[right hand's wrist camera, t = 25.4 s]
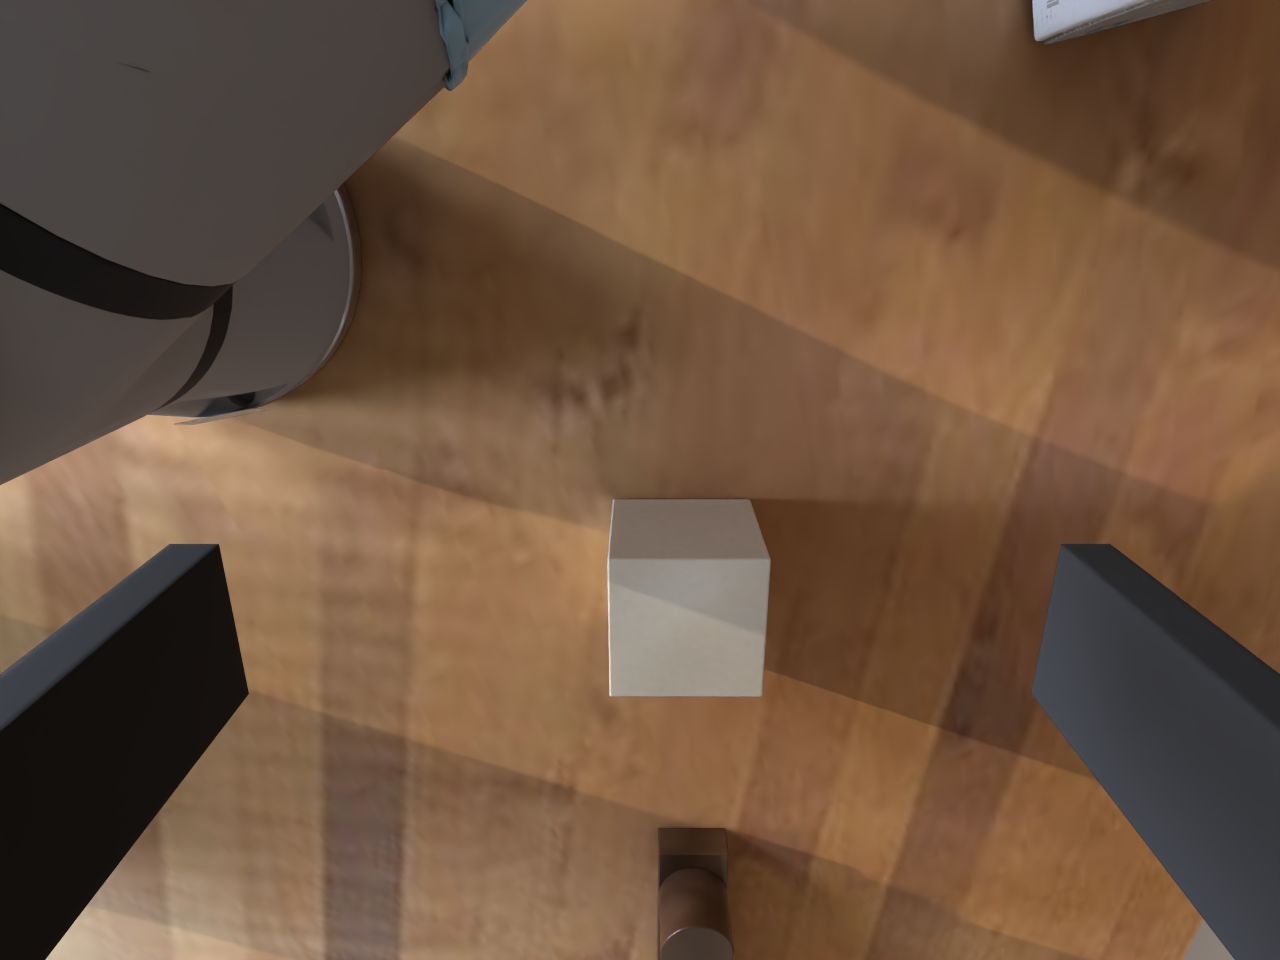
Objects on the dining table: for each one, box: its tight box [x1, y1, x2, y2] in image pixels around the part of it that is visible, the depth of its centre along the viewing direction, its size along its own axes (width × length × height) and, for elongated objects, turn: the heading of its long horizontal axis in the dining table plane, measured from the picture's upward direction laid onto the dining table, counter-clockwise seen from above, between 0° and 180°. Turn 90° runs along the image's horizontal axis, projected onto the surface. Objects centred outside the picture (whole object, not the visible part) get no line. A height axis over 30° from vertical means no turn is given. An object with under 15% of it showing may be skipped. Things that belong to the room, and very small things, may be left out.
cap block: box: [607, 499, 771, 697], centre depth 39 cm, size 7×7×7 cm
